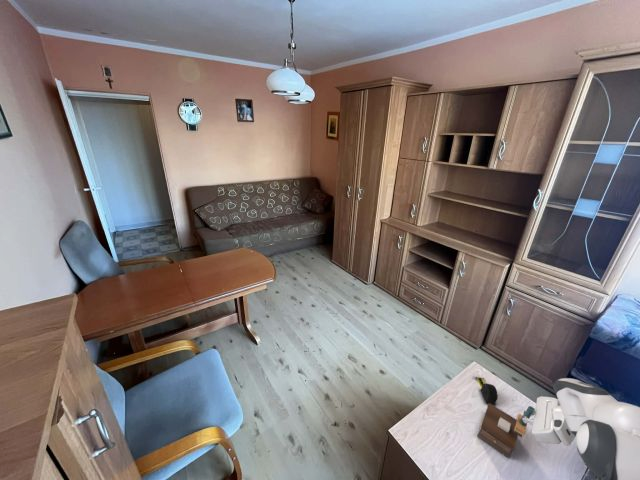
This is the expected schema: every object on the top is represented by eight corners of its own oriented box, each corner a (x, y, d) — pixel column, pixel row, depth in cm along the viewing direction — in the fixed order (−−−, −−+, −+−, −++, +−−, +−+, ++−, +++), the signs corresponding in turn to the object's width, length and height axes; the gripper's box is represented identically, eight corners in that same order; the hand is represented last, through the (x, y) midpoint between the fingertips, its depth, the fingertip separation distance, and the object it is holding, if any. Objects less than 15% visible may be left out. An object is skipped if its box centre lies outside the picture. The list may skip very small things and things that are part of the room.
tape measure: (494, 405, 132) (499, 395, 129) (485, 404, 133) (490, 394, 129) (482, 379, 145) (487, 369, 142) (474, 378, 146) (479, 368, 142)
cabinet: (507, 460, 111) (514, 450, 108) (475, 437, 119) (480, 427, 115) (513, 432, 121) (520, 422, 118) (483, 412, 129) (489, 402, 125)
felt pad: (507, 432, 114) (509, 430, 113) (497, 425, 116) (498, 423, 115) (509, 425, 116) (510, 423, 116) (499, 419, 119) (500, 417, 118)
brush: (522, 438, 108) (535, 418, 102) (512, 432, 110) (525, 413, 104) (524, 423, 114) (537, 404, 108) (516, 417, 115) (528, 398, 110)
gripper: (561, 392, 106) (523, 392, 116) (558, 432, 92) (515, 428, 102) (570, 407, 106) (531, 405, 116) (569, 449, 92) (524, 443, 102)
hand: (523, 416), depth 109 cm, fingers closed on brush, 2 cm apart
